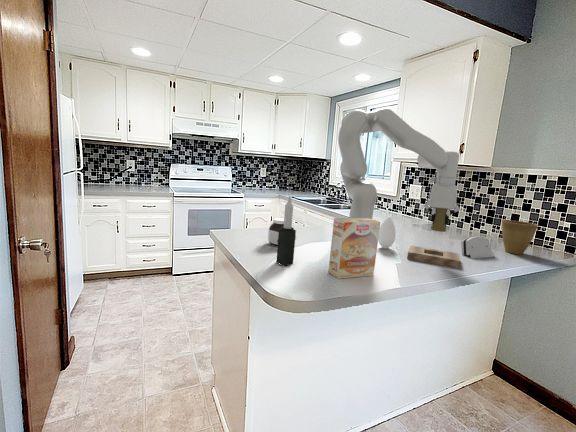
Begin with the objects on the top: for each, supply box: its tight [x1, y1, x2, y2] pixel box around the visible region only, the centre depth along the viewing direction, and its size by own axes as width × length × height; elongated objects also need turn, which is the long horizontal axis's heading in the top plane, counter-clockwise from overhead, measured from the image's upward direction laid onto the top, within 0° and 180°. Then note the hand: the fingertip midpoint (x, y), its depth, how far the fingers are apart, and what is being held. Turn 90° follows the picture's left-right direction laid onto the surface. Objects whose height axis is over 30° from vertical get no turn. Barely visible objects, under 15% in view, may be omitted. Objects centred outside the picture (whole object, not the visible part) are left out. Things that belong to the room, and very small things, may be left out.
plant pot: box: [501, 219, 539, 255], centre depth 162 cm, size 15×15×16 cm
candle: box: [276, 195, 297, 266], centre depth 115 cm, size 5×5×25 cm
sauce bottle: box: [378, 211, 397, 250], centre depth 150 cm, size 8×8×18 cm
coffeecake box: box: [327, 217, 382, 280], centre depth 109 cm, size 15×7×20 cm, turn 114°
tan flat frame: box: [406, 245, 461, 269], centre depth 138 cm, size 20×14×3 cm
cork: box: [430, 208, 447, 233], centre depth 135 cm, size 6×6×11 cm
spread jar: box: [267, 217, 297, 247], centre depth 143 cm, size 12×11×12 cm
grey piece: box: [461, 236, 495, 259], centre depth 152 cm, size 17×5×10 cm, turn 113°
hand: (439, 223), depth 136 cm, fingers closed on cork, 4 cm apart
